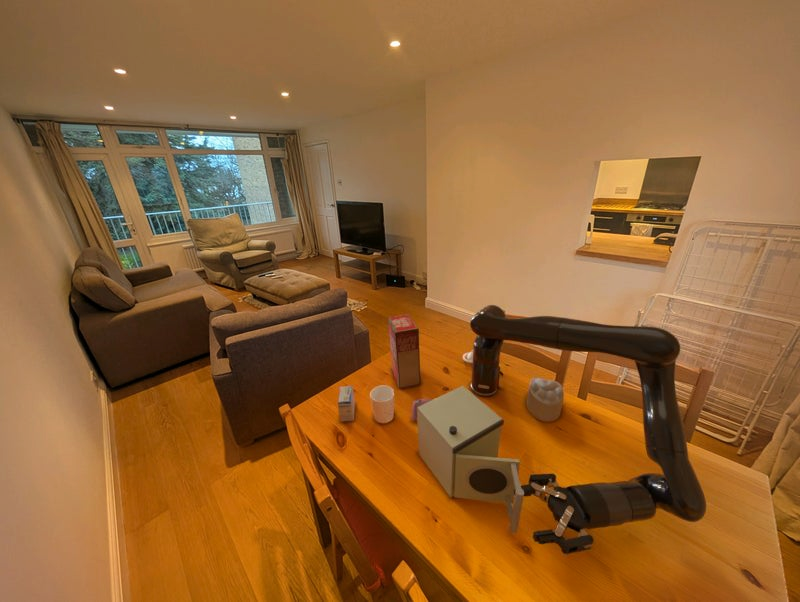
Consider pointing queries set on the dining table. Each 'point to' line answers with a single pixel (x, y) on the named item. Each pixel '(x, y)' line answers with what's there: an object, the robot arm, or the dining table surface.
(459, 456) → the washer door
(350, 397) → the medicine box
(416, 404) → the video game controller
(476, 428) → the washer
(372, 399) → the white cup
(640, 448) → the dining table surface
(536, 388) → the lumpy-topped squat cylinder
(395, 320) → the food packaging
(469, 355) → the ring around a ball
